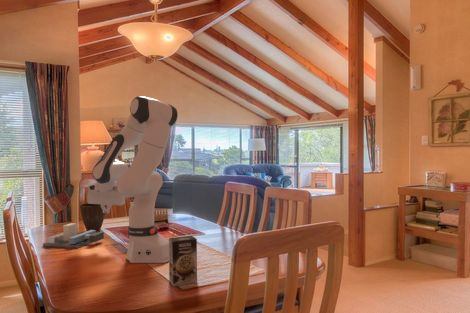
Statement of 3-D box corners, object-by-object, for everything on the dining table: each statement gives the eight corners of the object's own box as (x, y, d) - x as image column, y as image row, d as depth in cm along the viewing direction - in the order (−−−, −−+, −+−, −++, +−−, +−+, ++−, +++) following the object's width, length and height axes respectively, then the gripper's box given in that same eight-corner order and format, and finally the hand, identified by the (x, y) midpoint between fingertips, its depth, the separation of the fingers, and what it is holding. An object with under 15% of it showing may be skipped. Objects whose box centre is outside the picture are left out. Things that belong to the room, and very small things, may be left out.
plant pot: (97, 227, 228) (97, 201, 227) (112, 229, 219) (111, 203, 218) (75, 231, 215) (74, 205, 215) (89, 234, 207) (89, 207, 206)
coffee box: (173, 287, 127) (172, 241, 126) (169, 281, 133) (168, 237, 132) (198, 282, 130) (197, 238, 130) (192, 277, 136) (192, 234, 136)
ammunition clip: (151, 229, 218) (151, 210, 217) (150, 229, 219) (150, 209, 219) (168, 227, 222) (168, 208, 222) (167, 227, 224) (167, 208, 224)
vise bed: (101, 238, 198) (101, 230, 198) (77, 248, 178) (76, 239, 178) (70, 236, 203) (69, 228, 202) (43, 246, 183) (42, 237, 183)
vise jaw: (109, 236, 195) (109, 229, 195) (88, 245, 178) (88, 238, 178) (91, 235, 198) (91, 229, 198) (68, 243, 181) (68, 237, 180)
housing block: (77, 238, 193) (76, 223, 193) (69, 241, 187) (68, 225, 187) (71, 237, 194) (71, 223, 194) (63, 240, 188) (63, 225, 188)
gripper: (127, 186, 185) (127, 213, 186) (92, 185, 190) (93, 211, 191) (120, 187, 179) (120, 215, 180) (85, 186, 184) (85, 213, 185)
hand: (106, 213), depth 185 cm, fingers closed
